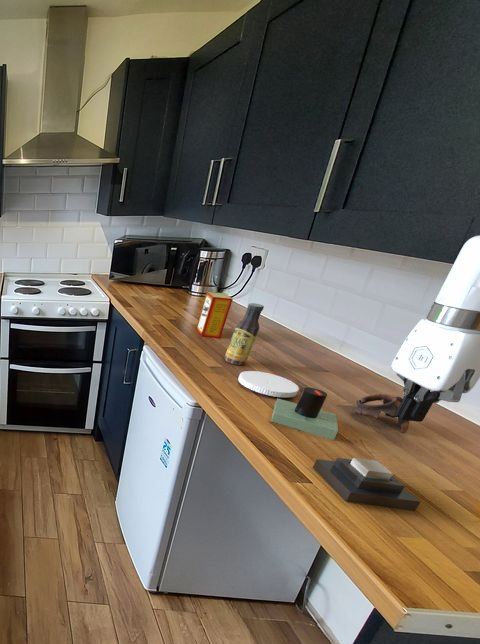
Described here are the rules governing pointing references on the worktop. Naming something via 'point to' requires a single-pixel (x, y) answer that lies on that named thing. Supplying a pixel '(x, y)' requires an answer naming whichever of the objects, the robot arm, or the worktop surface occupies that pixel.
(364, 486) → the tiered square pedestal
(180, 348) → the worktop surface
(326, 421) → the volume panel
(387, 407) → the brown looped piece
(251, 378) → the plastic lid
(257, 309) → the sauce bottle
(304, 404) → the dial
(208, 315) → the baking soda box
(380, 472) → the key
